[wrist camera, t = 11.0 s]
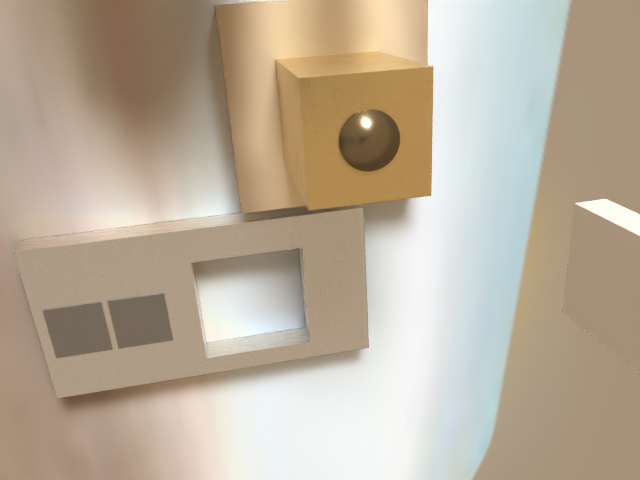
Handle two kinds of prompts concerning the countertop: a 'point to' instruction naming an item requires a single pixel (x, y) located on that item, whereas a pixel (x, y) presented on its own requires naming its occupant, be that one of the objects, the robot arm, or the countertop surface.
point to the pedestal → (293, 42)
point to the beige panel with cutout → (186, 295)
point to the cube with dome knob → (356, 127)
